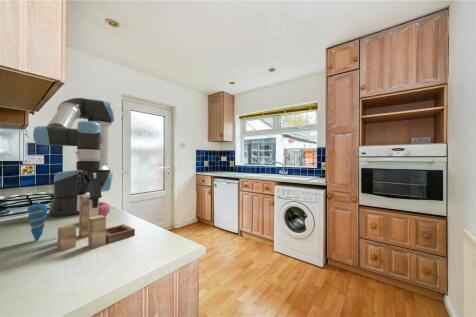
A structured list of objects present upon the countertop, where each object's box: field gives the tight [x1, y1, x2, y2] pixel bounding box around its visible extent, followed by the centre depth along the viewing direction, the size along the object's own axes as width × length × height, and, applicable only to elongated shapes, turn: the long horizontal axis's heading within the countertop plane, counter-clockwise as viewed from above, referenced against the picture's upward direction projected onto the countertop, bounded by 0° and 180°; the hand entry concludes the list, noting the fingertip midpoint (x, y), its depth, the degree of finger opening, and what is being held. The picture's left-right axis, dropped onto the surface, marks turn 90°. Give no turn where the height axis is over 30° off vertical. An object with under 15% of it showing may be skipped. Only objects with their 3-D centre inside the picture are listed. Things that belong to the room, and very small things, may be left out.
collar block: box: [105, 223, 136, 244], centre depth 80 cm, size 10×10×2 cm
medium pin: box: [87, 215, 107, 250], centre depth 72 cm, size 4×4×10 cm
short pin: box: [57, 224, 77, 252], centre depth 69 cm, size 4×4×7 cm
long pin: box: [78, 194, 94, 239], centre depth 80 cm, size 4×4×16 cm
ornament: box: [27, 200, 48, 242], centre depth 74 cm, size 5×5×15 cm
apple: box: [98, 201, 110, 218], centre depth 98 cm, size 10×9×10 cm
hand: (87, 213), depth 80 cm, fingers open, 13 cm apart
